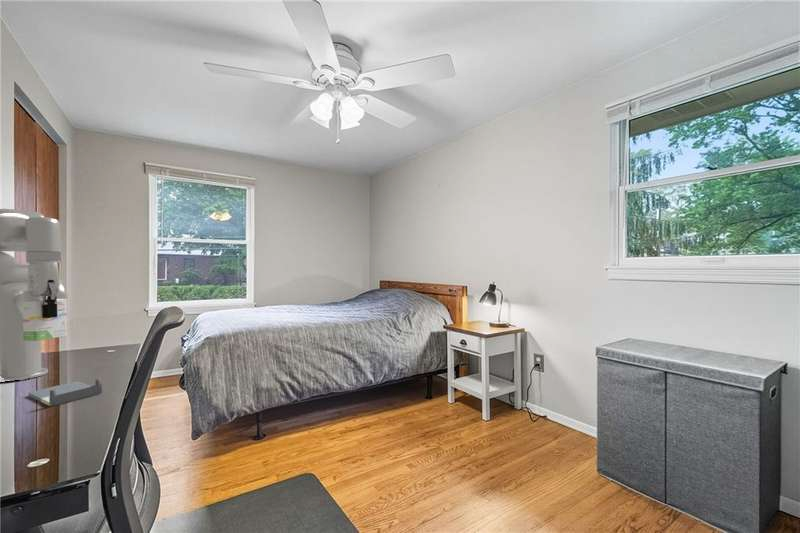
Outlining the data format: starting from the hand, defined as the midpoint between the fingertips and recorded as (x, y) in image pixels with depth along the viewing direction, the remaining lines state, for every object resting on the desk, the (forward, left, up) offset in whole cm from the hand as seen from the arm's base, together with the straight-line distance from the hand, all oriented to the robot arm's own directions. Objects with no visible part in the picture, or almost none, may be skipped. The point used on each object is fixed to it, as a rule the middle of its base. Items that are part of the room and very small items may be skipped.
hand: (45, 316), depth 109 cm
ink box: (0, 0, -7) cm, 7 cm away
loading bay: (+15, 0, -21) cm, 26 cm away
